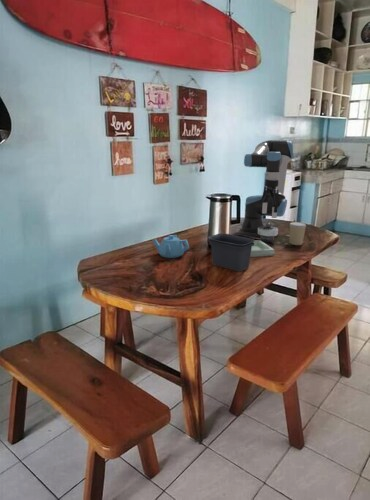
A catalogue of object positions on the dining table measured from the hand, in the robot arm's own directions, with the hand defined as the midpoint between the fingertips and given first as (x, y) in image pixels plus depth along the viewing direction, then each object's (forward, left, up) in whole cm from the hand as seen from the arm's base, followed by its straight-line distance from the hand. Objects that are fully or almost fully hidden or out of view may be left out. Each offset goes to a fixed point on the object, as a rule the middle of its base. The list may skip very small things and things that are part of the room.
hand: (269, 215), depth 219 cm
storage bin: (+37, -36, -17) cm, 54 cm away
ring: (0, 0, -11) cm, 11 cm away
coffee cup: (+6, +16, -17) cm, 24 cm away
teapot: (+14, -62, -17) cm, 66 cm away
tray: (+16, -17, -16) cm, 28 cm away
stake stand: (0, 0, -16) cm, 16 cm away
